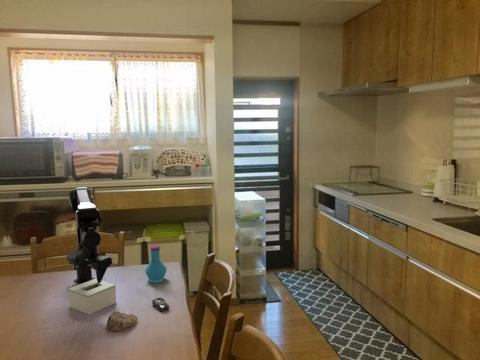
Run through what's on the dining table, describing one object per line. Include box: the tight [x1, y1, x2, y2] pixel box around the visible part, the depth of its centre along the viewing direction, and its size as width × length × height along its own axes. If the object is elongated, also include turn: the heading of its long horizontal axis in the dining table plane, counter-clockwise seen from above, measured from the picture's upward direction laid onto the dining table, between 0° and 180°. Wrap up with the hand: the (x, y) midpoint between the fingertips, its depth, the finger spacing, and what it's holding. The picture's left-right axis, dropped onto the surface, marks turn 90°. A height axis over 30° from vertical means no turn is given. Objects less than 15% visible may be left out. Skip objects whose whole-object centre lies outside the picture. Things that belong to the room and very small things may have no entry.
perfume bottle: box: [144, 245, 168, 283], centre depth 174 cm, size 9×9×15 cm
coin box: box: [67, 278, 117, 315], centre depth 151 cm, size 12×12×7 cm
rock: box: [105, 310, 139, 333], centre depth 134 cm, size 9×6×10 cm
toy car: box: [149, 282, 170, 313], centre depth 149 cm, size 4×12×8 cm, turn 39°
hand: (91, 280), depth 150 cm, fingers open, 9 cm apart
